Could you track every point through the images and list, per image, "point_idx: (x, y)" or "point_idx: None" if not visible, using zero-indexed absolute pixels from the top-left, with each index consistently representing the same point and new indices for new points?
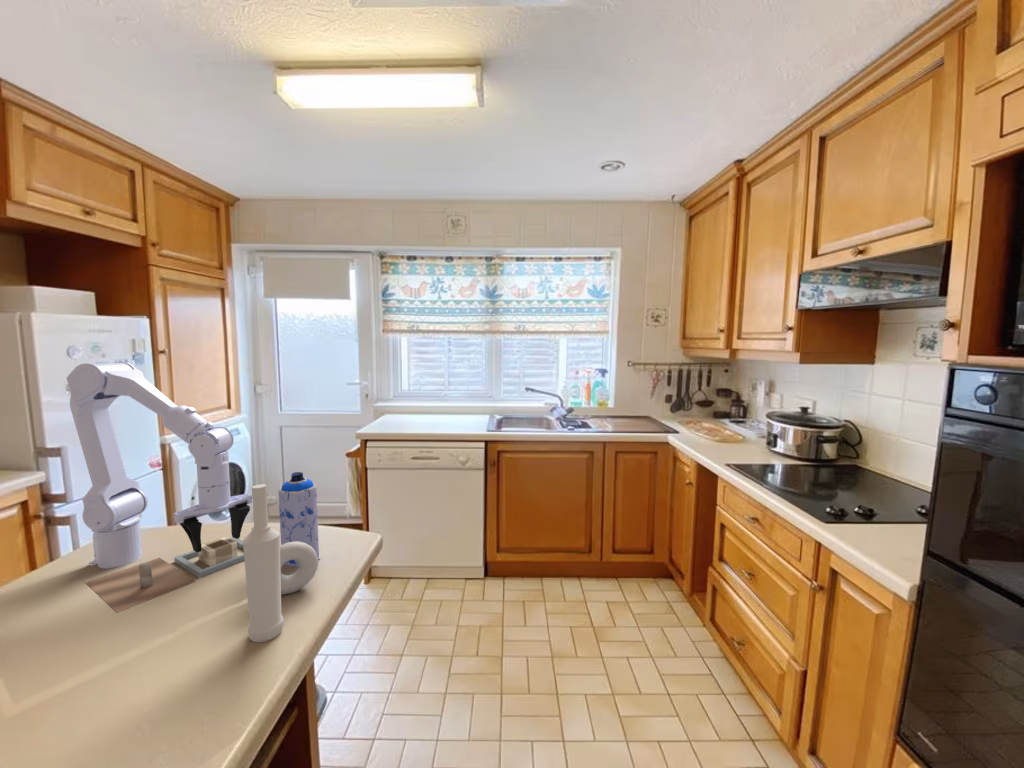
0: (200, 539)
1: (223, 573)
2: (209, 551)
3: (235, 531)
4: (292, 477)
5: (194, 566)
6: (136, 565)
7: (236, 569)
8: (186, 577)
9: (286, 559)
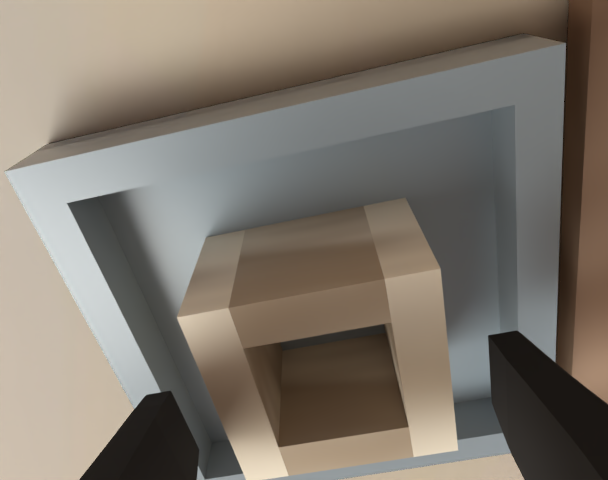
0: (562, 424)
1: (341, 68)
2: (434, 285)
3: (156, 469)
4: None
5: (533, 217)
6: None
7: (243, 67)
8: (603, 125)
9: None
